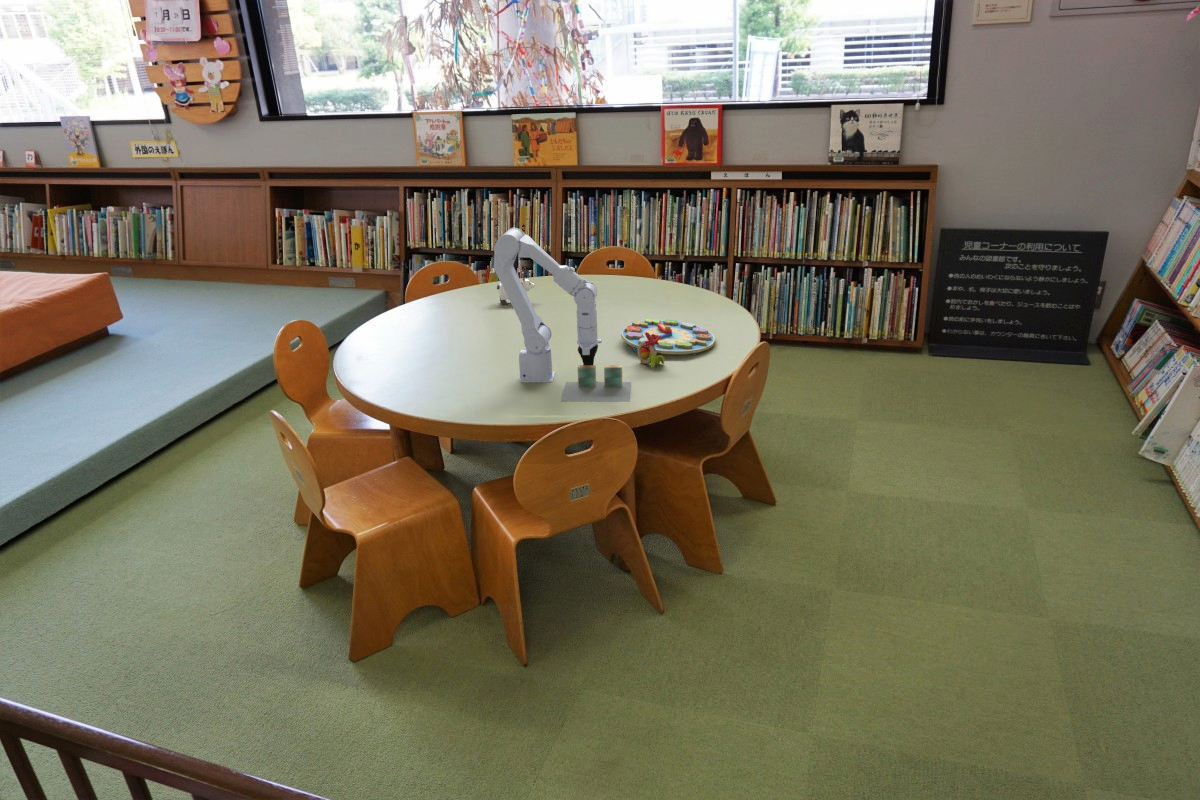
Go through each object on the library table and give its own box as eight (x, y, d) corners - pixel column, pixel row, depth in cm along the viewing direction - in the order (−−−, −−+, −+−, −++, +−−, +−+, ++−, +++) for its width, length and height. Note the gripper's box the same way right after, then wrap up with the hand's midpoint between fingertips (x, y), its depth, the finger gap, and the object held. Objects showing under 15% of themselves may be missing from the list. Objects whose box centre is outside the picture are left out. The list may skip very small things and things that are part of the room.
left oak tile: (578, 387, 231) (577, 367, 228) (578, 384, 232) (578, 365, 230) (595, 387, 230) (595, 367, 228) (596, 384, 232) (595, 365, 230)
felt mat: (560, 402, 222) (560, 401, 222) (565, 383, 235) (565, 382, 235) (629, 402, 221) (629, 401, 221) (631, 383, 234) (631, 381, 233)
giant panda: (498, 306, 308) (496, 281, 304) (497, 302, 313) (495, 278, 309) (536, 302, 311) (535, 278, 307) (534, 299, 316) (533, 275, 312)
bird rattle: (636, 373, 246) (657, 368, 239) (625, 338, 245) (646, 332, 238) (649, 367, 250) (670, 362, 244) (638, 333, 249) (659, 327, 242)
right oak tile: (604, 387, 230) (604, 367, 228) (604, 384, 232) (604, 365, 230) (622, 387, 230) (621, 367, 227) (622, 384, 232) (622, 365, 229)
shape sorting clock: (711, 362, 248) (711, 344, 246) (613, 357, 254) (613, 339, 252) (717, 330, 276) (718, 313, 273) (629, 327, 282) (629, 310, 279)
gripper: (599, 333, 224) (600, 379, 229) (602, 317, 237) (603, 361, 242) (574, 333, 224) (576, 379, 230) (578, 317, 237) (580, 361, 243)
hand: (588, 369), depth 236 cm, fingers closed
